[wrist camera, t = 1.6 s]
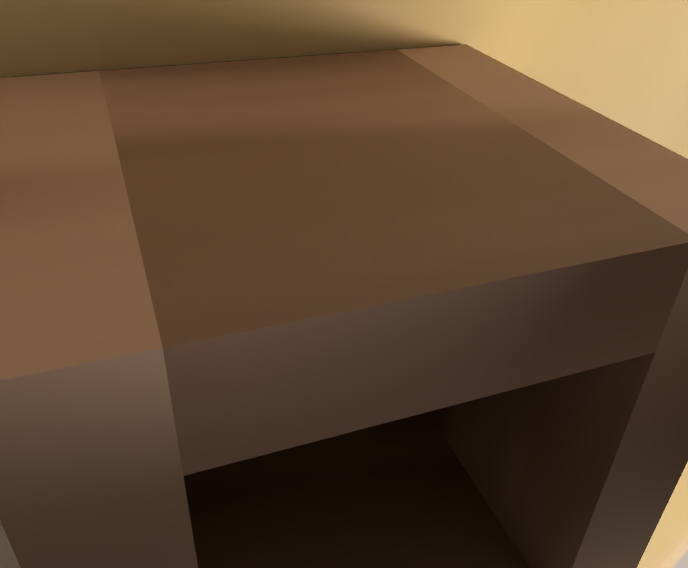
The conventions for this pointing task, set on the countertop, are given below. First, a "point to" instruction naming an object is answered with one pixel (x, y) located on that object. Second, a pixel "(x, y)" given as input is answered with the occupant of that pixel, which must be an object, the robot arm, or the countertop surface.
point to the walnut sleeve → (335, 318)
